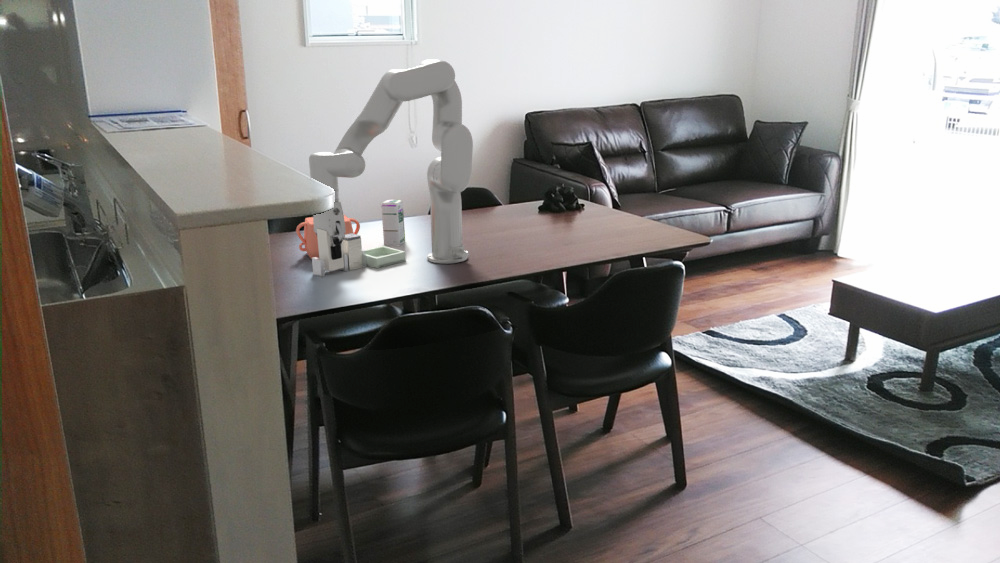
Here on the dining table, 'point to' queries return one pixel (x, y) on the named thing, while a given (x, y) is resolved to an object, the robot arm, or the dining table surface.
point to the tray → (384, 256)
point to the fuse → (328, 251)
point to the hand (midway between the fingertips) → (331, 256)
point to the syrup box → (393, 222)
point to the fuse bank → (345, 256)
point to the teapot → (311, 237)
